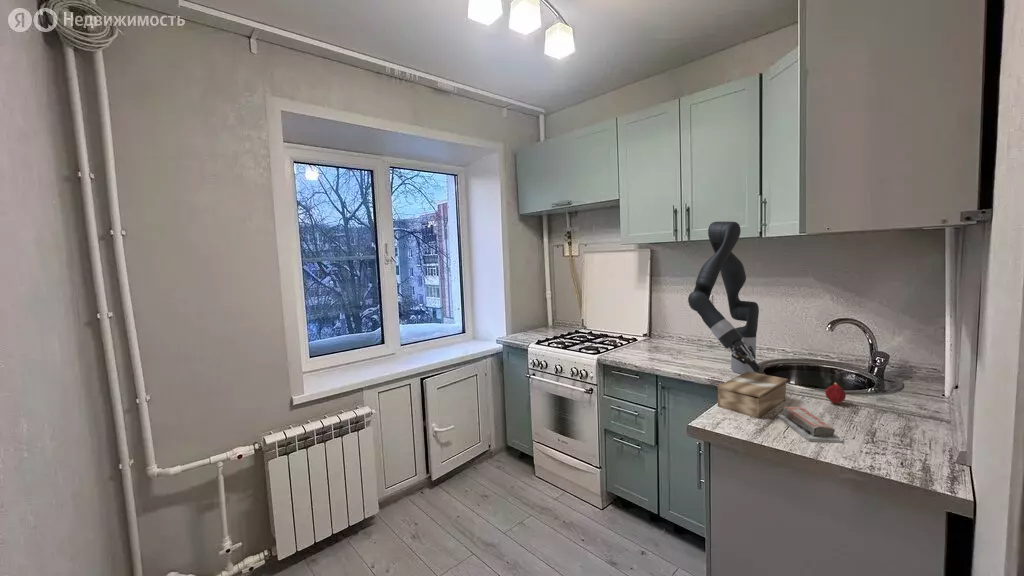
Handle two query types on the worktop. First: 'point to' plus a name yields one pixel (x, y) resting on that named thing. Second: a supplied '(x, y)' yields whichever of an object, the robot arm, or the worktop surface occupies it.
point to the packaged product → (808, 425)
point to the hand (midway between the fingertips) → (759, 370)
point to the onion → (835, 393)
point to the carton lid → (753, 384)
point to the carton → (751, 401)
